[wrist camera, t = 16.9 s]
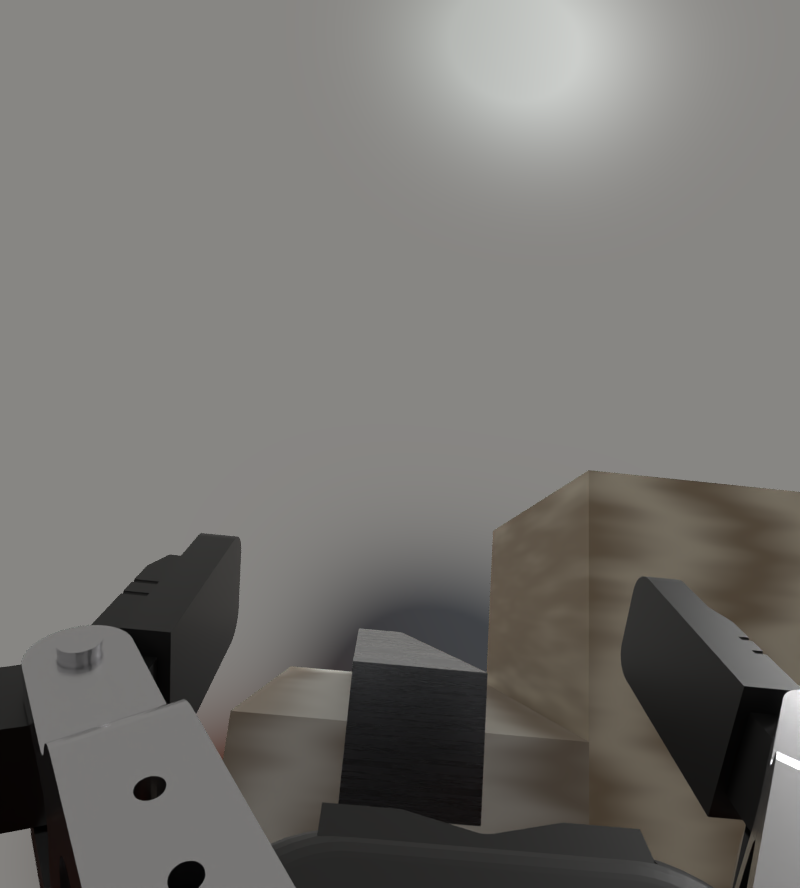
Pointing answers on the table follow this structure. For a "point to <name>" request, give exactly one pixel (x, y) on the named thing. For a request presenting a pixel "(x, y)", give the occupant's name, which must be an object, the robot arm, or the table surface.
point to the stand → (565, 667)
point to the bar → (414, 730)
